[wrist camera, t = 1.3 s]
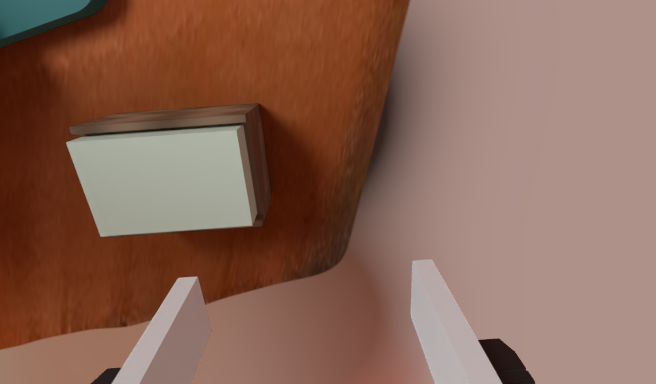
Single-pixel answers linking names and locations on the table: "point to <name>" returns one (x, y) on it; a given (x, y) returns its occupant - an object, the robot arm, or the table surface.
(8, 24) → the bracket
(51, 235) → the table surface
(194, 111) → the box
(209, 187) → the lid
